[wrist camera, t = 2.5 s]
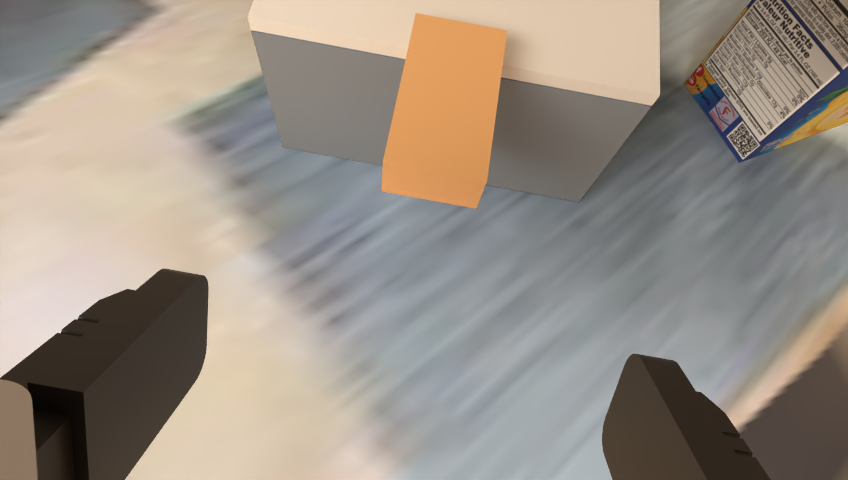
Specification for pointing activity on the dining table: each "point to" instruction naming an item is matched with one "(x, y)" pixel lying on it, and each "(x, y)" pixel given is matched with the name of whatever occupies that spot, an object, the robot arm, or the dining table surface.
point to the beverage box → (776, 75)
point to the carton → (375, 102)
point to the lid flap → (476, 69)
